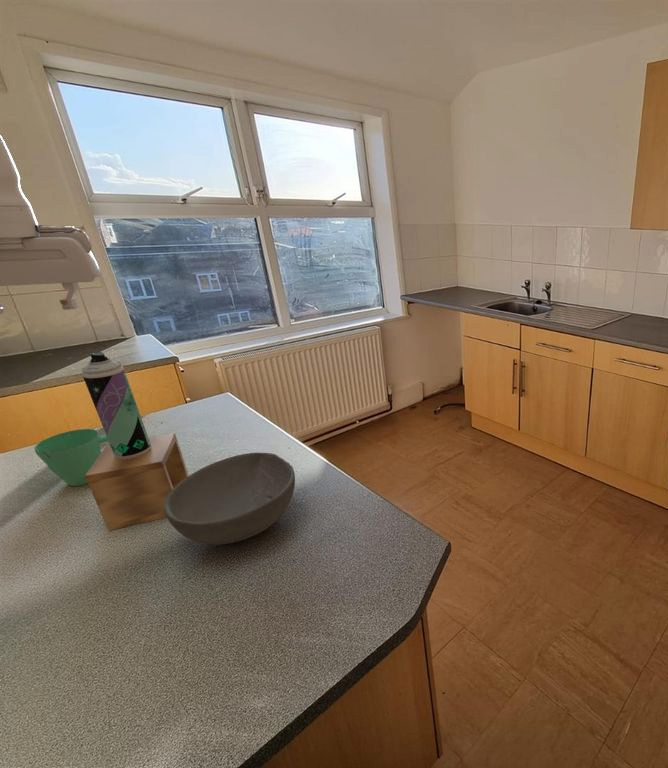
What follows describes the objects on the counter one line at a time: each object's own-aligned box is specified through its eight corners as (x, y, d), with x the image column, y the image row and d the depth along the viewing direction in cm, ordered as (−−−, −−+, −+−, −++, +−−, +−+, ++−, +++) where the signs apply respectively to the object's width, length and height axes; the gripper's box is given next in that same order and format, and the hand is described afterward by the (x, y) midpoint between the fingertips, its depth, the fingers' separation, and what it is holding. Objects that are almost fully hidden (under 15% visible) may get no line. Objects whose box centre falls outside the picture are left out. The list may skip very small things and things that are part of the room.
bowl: (151, 548, 76) (133, 502, 72) (251, 484, 94) (241, 444, 90) (234, 581, 70) (219, 532, 66) (325, 505, 88) (317, 464, 84)
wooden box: (108, 530, 80) (84, 475, 75) (127, 494, 90) (107, 443, 85) (180, 514, 84) (161, 461, 80) (190, 481, 94) (174, 432, 90)
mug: (50, 499, 88) (30, 457, 84) (55, 477, 95) (37, 437, 91) (142, 473, 97) (127, 434, 93) (140, 455, 104) (127, 418, 100)
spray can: (113, 451, 82) (73, 353, 75) (148, 441, 86) (115, 346, 78) (117, 463, 79) (76, 360, 71) (154, 452, 83) (119, 353, 75)
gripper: (91, 224, 75) (117, 302, 81) (-81, 224, 67) (-38, 312, 72) (76, 226, 70) (106, 309, 75) (-111, 226, 62) (-63, 321, 67)
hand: (34, 311), depth 74 cm, fingers open, 8 cm apart
